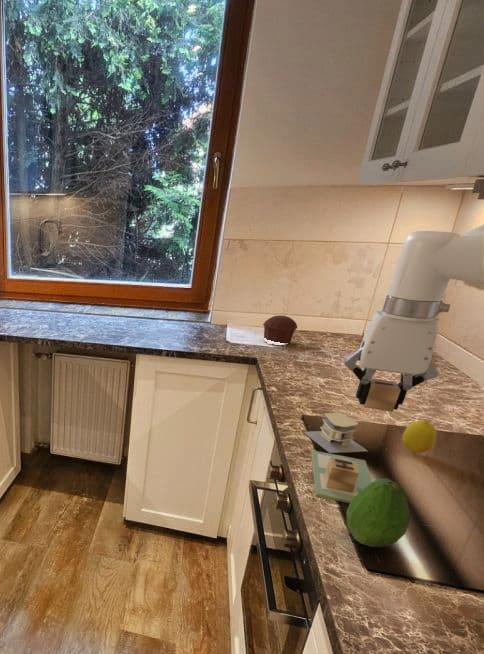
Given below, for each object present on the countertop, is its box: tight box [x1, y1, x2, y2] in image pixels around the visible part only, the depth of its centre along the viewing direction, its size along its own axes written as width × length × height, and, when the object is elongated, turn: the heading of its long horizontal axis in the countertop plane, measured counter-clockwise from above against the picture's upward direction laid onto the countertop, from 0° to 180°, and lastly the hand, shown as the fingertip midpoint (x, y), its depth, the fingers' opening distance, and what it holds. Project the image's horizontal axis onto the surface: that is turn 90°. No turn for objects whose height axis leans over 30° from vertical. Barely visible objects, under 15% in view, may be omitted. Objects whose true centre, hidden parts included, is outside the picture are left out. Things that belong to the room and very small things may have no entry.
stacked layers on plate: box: [302, 412, 368, 454], centre depth 107 cm, size 10×9×6 cm
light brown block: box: [324, 457, 359, 493], centre depth 90 cm, size 4×4×5 cm
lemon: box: [401, 419, 438, 455], centre depth 101 cm, size 6×6×8 cm
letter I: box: [363, 378, 401, 413], centre depth 88 cm, size 4×4×5 cm
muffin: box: [262, 315, 298, 344], centre depth 176 cm, size 12×11×10 cm
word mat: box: [310, 449, 373, 504], centre depth 94 cm, size 10×18×1 cm, turn 154°
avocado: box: [346, 477, 411, 548], centre depth 74 cm, size 8×8×12 cm
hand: (377, 403), depth 89 cm, fingers closed on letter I, 4 cm apart
